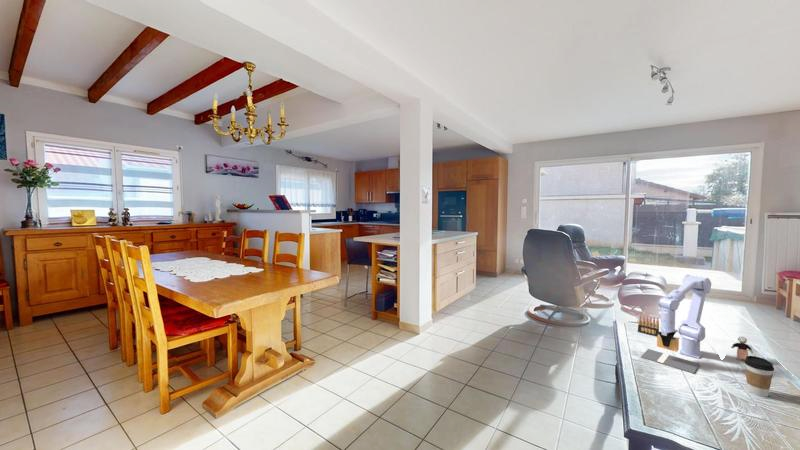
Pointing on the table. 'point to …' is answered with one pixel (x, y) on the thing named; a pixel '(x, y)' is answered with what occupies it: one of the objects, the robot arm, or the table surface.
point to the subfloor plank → (671, 361)
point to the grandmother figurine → (742, 348)
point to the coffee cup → (758, 375)
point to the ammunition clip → (648, 326)
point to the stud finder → (673, 344)
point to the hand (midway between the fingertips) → (667, 345)
